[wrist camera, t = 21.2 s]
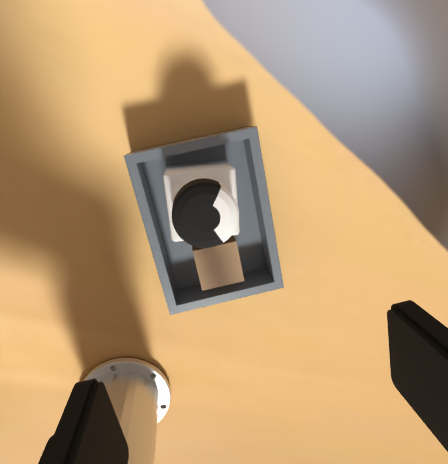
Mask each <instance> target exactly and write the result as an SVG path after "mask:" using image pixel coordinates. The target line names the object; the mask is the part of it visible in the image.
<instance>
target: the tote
mask: <svg viewBox="0 0 448 464" xmlns="http://www.w3.org/2000/svg"><path fill="white" fill-rule="evenodd" d="M124 158H125V161H126V165H127V168H128V172H129V175H130V178H131V182H132V185H133V189H134V192H135V196H136V199H137V203H138V206H139V209H140V213H141V216H142V220H143V223H144V227H145V230H146V233H147V237H148V240H149V244H150V247H151V251H152V254H153V258H154V261H155V264H156V268H157V271H158V275H159V278H160V282H161V285H162V288H163V292H164V295H165V299H166V302H167V306H168V309H169V313H170V315H172V314H176V313H180V312H185V311H189V310H193V309H197V308H201V307H205V306H209V305H214V304H218V303H222V302H226V301H230V300H234V299H238V298H243V297H247V296H251V295H255V294H259V293H263V292H267V291H272V290H276V289H280V288H284V286H283V280H282V274H281V268H280V262H279V256H278V250H277V244H276V238H275V232H274V226H273V220H272V214H271V208H270V202H269V196H268V190H267V184H266V178H265V172H264V166H263V160H262V154H261V148H260V142H259V136H258V130H257V127H252V126H248V127H243V128H238V129H234V130H229V131H225V132H220V133H215V134H211V135H206V136H202V137H197V138H193V139H188V140H183V141H179V142H174V143H170V144H165V145H160V146H156V147H151V148H147V149H142V150H137V151H133V152H130V153H128V154H126V155H124ZM221 160H226V161H227V162H228V163H229V164H230V165H232V166H233V167H234V168H235V171H236V186H237V200H238V209H239V230H240V232H239V234H238V235H234V237H235V239H236V241H237V246H238V251H239V256H240V261H241V266H242V271H243V277H244V281H242V282H238V283H234V284H229V285H225V286H221V287H216V288H212V289H208V290H203V291H202V288H201V284H200V280H199V276H198V272H197V267H196V263H195V259H194V255H193V250H192V245H190V244H188V243H186V242H185V241H178V242H174V241H172V239H171V231H170V224H169V216H168V208H167V201H166V193H165V186H164V178H163V176H164V173H165V170H166V167H167V166H169V165H178V164H189V163H199V162H210V161H221Z"/></svg>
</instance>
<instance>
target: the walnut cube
mask: <svg viewBox="0 0 448 464" xmlns="http://www.w3.org/2000/svg"><path fill="white" fill-rule="evenodd" d="M192 250H193V255H194V259H195V263H196V267H197V272H198V276H199V280H200V284H201V288H202V291H203V290H208V289H212V288H216V287H221V286H225V285H229V284H234V283H238V282H242V281H244V277H243V271H242V266H241V261H240V256H239V251H238V246H237V241H236V239H235V237H234V235H232V236H231V237H230V238H229V239H228V240H226V241H225V242H224V243H222V244H220V245H218V246H215V247H211V248H199V247H195V246H192Z"/></svg>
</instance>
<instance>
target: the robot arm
mask: <svg viewBox="0 0 448 464" xmlns="http://www.w3.org/2000/svg"><path fill="white" fill-rule="evenodd" d="M387 320H388V336H389V351H390V367H391V378H392V381H393V384H394V385H395V387H396V389H397V390H398V391H399V392H400V394H401V395H402V396H403V397H404V398H405V400H406V401H407V402H408V403H409V405H410V406H411V407H412V408H413V410H414V411H415V412H416V413H417V414H418V416H419V417H420V418H421V419H422V421H423V422H424V423H425V424H426V426H427V427H428V428H429V429H430V431H431V432H432V433H433V434H434V435H435V437H436V438H437V439H438V440H439V442H440V443H441V444H442V445H443V447H444V448H445V449H446V450H447V452H448V328H447V327H446V326H444V325H443V324H442V323H440V322H439V321H438V320H436V319H435V318H434V317H433V316H431V315H430V314H429V313H427V312H426V311H425V310H423V309H422V308H421V307H420V306H418V305H417V304H416V303H414V302H413V301H411V300H408V301H404V302H400V303H396V304H393V305H392V306H391V310H388V312H387ZM170 397H171V392H170V386H169V382H168V380H167V378H166V377H165V375H164V374H163V373H162V372H161V371H160V370H159V369H158V368H157V367H155V366H154V365H152V364H150V363H148V362H146V361H143V360H140V359H135V358H117V359H112V360H109V361H106V362H104V363H102V364H100V365H98V366H96V367H95V368H94V369H93V370H91V371H90V372H89V373H88V375H87V376H86V377H85V379H84V381H82V382H78V383H76V384H75V385H74V387H73V390H72V392H71V395H70V397H69V400H68V402H67V404H66V407H65V409H64V412H63V414H62V417H61V419H60V421H59V424H58V426H57V429H56V431H55V434H54V435H53V436H52V437H51V438H50V439H49V440H48V442H47V444H46V447H45V449H44V451H43V454H42V456H41V458H40V461H39V463H38V464H154V457H155V445H156V433H157V423H158V422H159V421H160V420H161V419H162V418H163V417H164V415H165V414H166V412H167V410H168V408H169V404H170Z"/></svg>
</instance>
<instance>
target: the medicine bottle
mask: <svg viewBox="0 0 448 464" xmlns="http://www.w3.org/2000/svg"><path fill="white" fill-rule="evenodd" d="M163 178H164V186H165V193H166V201H167V208H168V216H169V224H170V231H171V239H172V241H174V242H178V241H185V242H186V243H188V244H190V245H192V246H195V247H199V248H211V247H215V246H218V245H220V244H222V243H224V242H225V241H226V240H228V239H229V238H230V237H231V236H232V235H238V234H239V232H240V230H239V209H238V200H237V186H236V171H235V168H234V167H233V166H232V165H230V164H229V163H228V162H227V161H226V160H221V161H210V162H199V163H189V164H178V165H169V166H167V167H166V170H165V173H164V176H163Z"/></svg>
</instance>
